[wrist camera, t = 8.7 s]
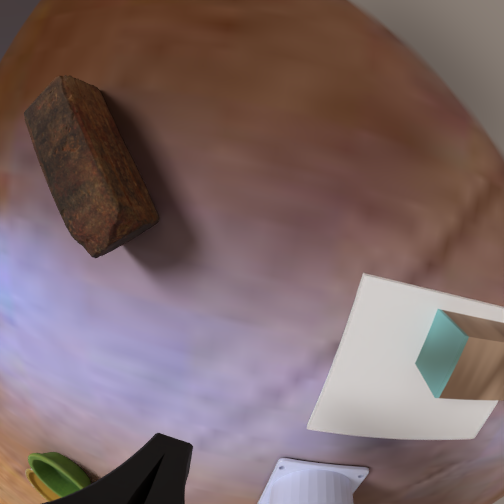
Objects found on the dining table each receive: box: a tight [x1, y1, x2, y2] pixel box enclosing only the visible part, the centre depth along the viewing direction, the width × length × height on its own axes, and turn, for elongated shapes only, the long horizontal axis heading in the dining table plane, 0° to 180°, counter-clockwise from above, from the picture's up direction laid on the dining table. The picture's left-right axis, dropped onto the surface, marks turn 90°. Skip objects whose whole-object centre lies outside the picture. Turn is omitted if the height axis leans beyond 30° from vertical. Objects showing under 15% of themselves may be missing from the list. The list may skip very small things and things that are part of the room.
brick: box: [24, 75, 159, 258], centre depth 17 cm, size 11×4×5 cm, turn 29°
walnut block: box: [415, 309, 504, 400], centre depth 15 cm, size 4×4×8 cm
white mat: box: [307, 273, 504, 440], centre depth 18 cm, size 12×16×1 cm
